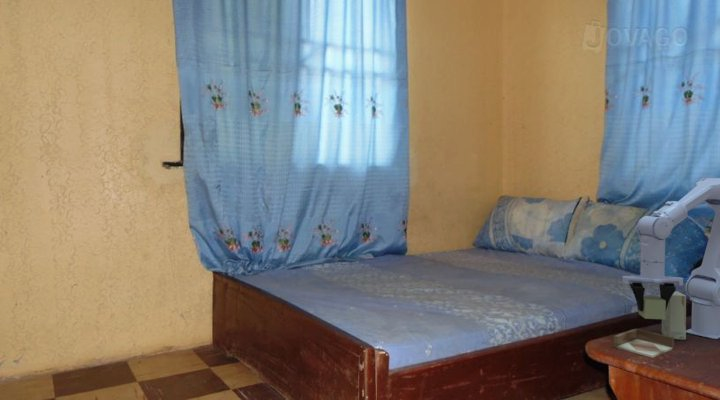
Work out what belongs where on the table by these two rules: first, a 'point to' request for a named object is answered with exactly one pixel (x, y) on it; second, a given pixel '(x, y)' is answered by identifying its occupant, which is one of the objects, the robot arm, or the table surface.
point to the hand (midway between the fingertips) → (651, 310)
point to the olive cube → (653, 307)
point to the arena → (644, 342)
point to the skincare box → (675, 317)
